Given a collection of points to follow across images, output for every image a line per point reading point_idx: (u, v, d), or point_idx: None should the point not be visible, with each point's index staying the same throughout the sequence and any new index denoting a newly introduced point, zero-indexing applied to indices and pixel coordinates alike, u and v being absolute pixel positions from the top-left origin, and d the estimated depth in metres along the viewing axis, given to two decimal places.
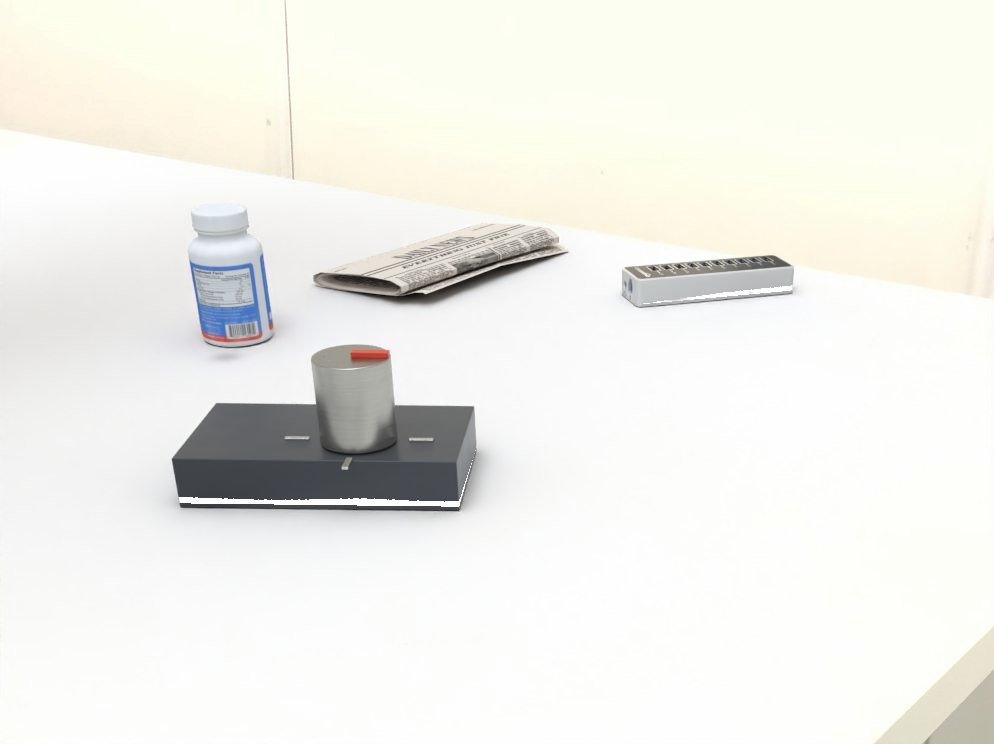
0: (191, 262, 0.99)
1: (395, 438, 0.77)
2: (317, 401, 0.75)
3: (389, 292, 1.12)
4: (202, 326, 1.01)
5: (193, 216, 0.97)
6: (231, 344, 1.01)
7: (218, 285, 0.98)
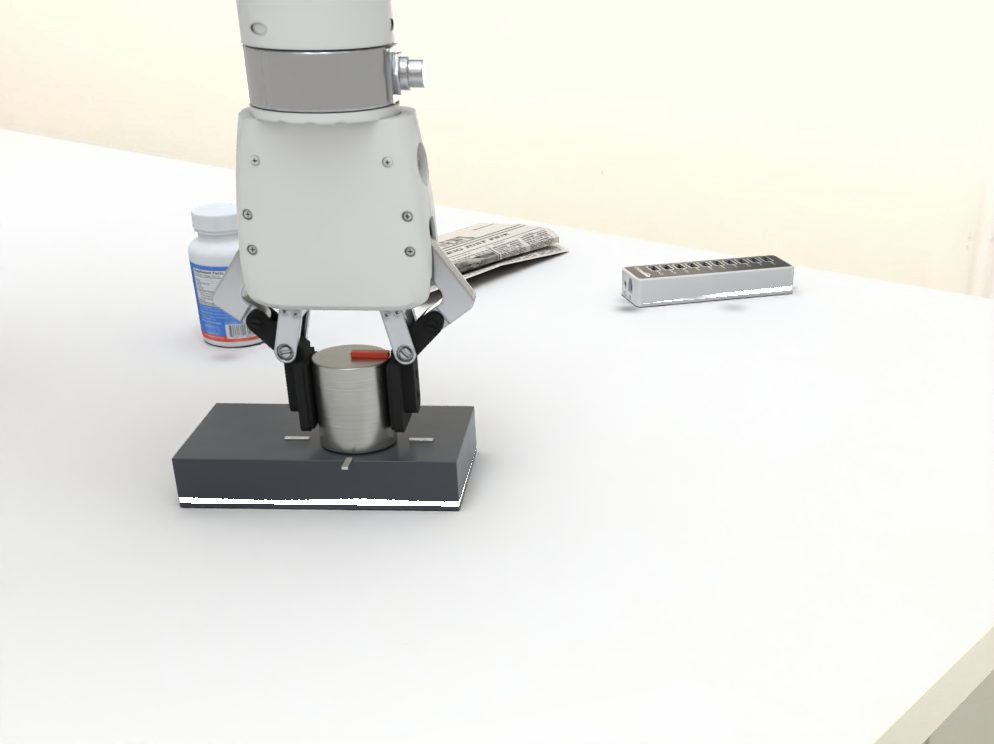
0: (191, 262, 0.99)
1: (395, 438, 0.77)
2: (317, 401, 0.75)
3: None
4: (202, 326, 1.01)
5: (193, 216, 0.97)
6: (231, 344, 1.01)
7: None
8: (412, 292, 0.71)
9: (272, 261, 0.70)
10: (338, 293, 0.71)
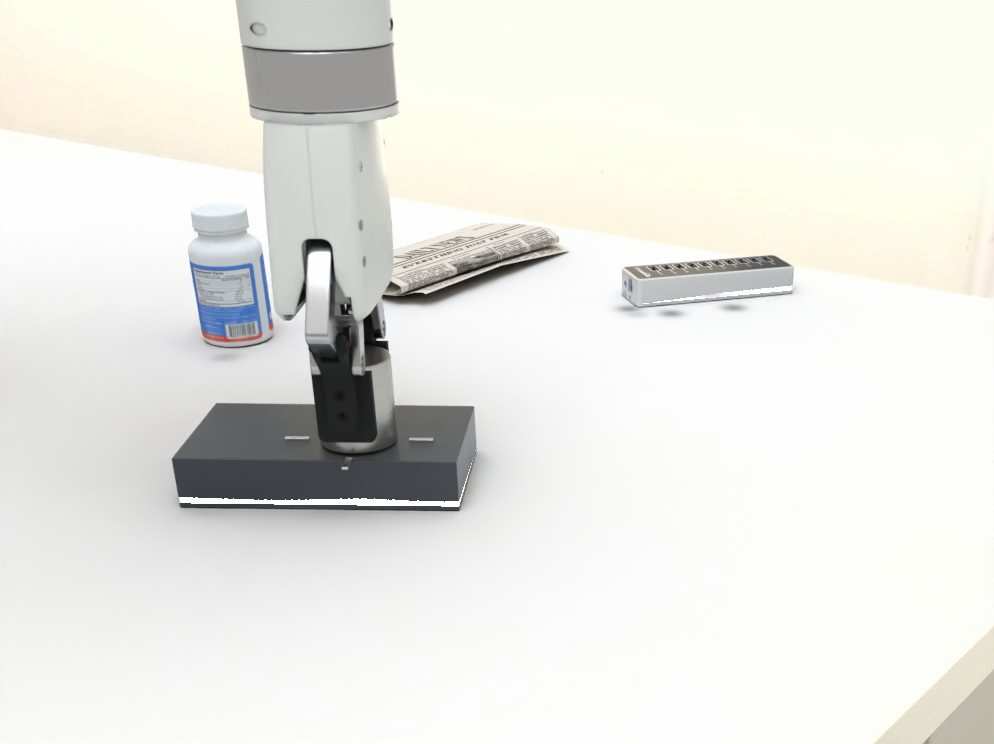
0: (191, 262, 0.99)
1: None
2: None
3: (389, 292, 1.12)
4: (202, 326, 1.01)
5: (193, 216, 0.97)
6: (231, 344, 1.01)
7: (218, 285, 0.98)
8: (392, 262, 0.76)
9: (371, 266, 0.69)
10: (383, 282, 0.73)
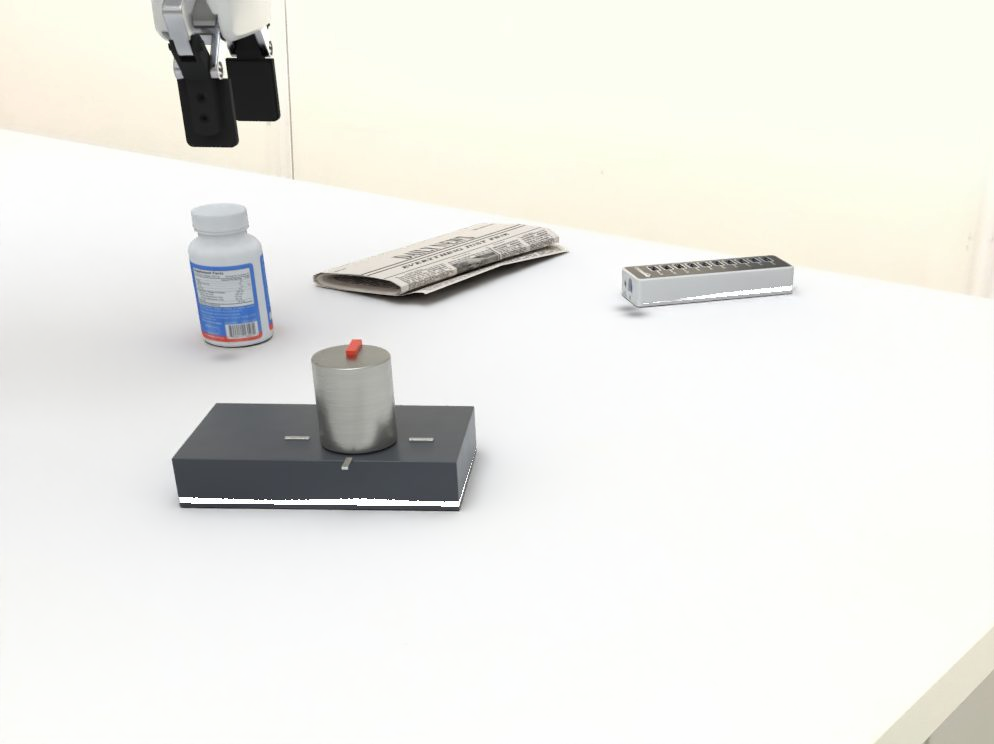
0: (191, 262, 0.99)
1: None
2: (368, 406, 0.74)
3: (389, 292, 1.12)
4: (202, 326, 1.01)
5: (193, 216, 0.97)
6: (231, 344, 1.01)
7: (218, 285, 0.98)
8: (270, 10, 0.88)
9: None
10: (254, 17, 0.85)
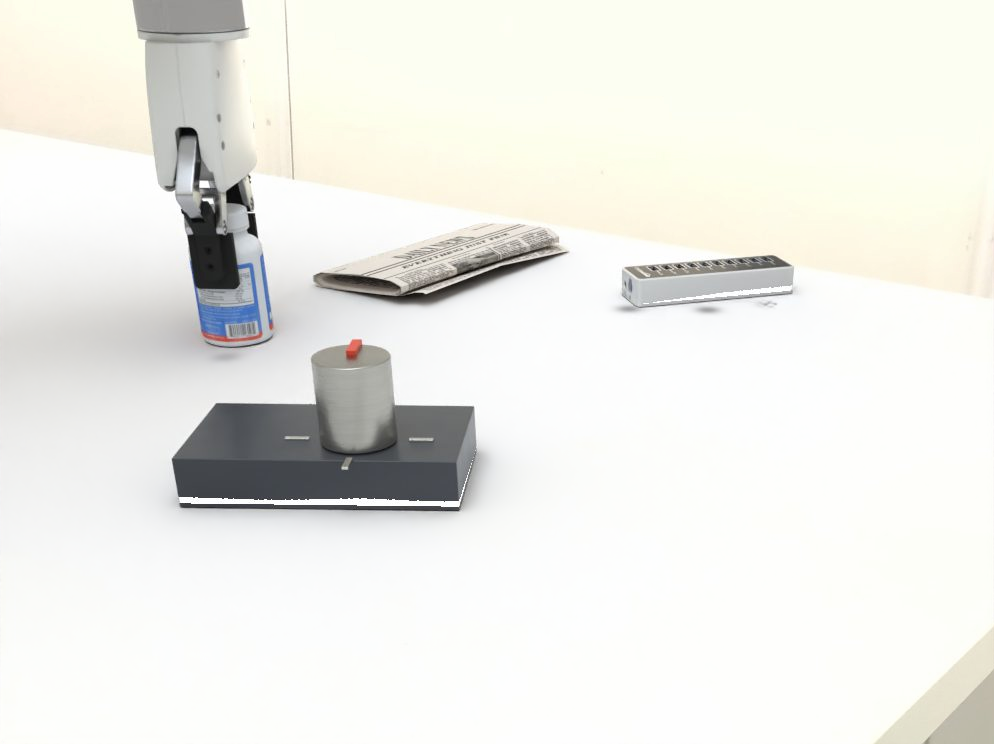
0: None
1: None
2: (368, 406, 0.74)
3: (389, 292, 1.12)
4: (202, 326, 1.01)
5: None
6: (231, 344, 1.01)
7: None
8: (255, 155, 1.00)
9: (229, 150, 0.93)
10: (243, 167, 0.97)
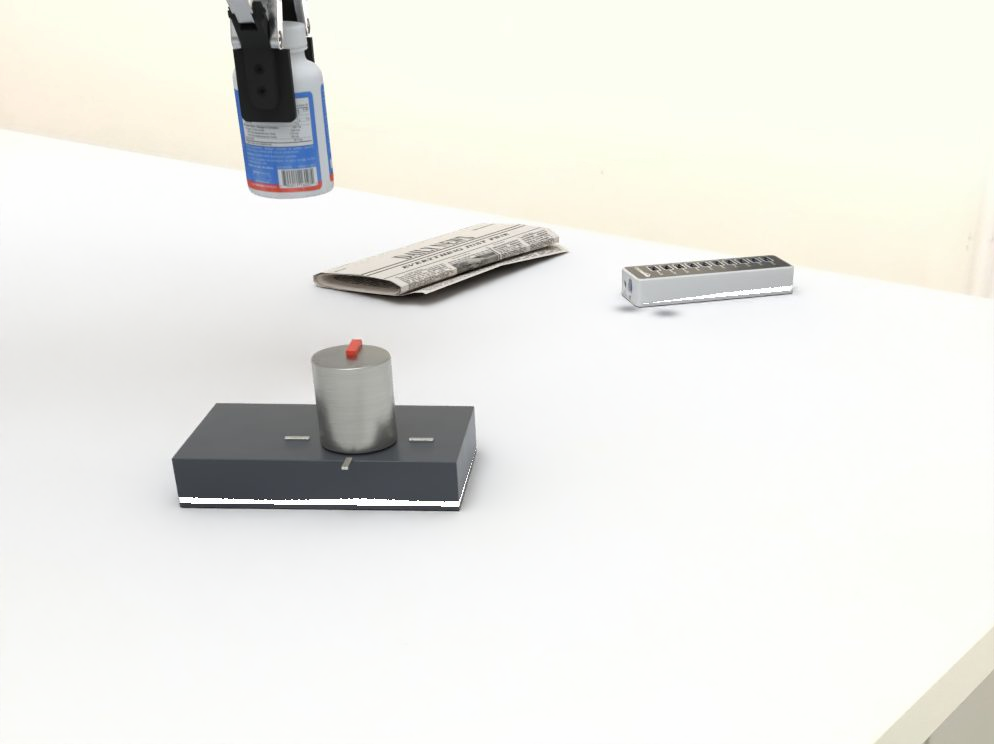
0: (237, 90, 0.80)
1: None
2: (368, 406, 0.74)
3: (389, 292, 1.12)
4: (248, 174, 0.83)
5: None
6: (284, 195, 0.82)
7: None
8: None
9: None
10: None
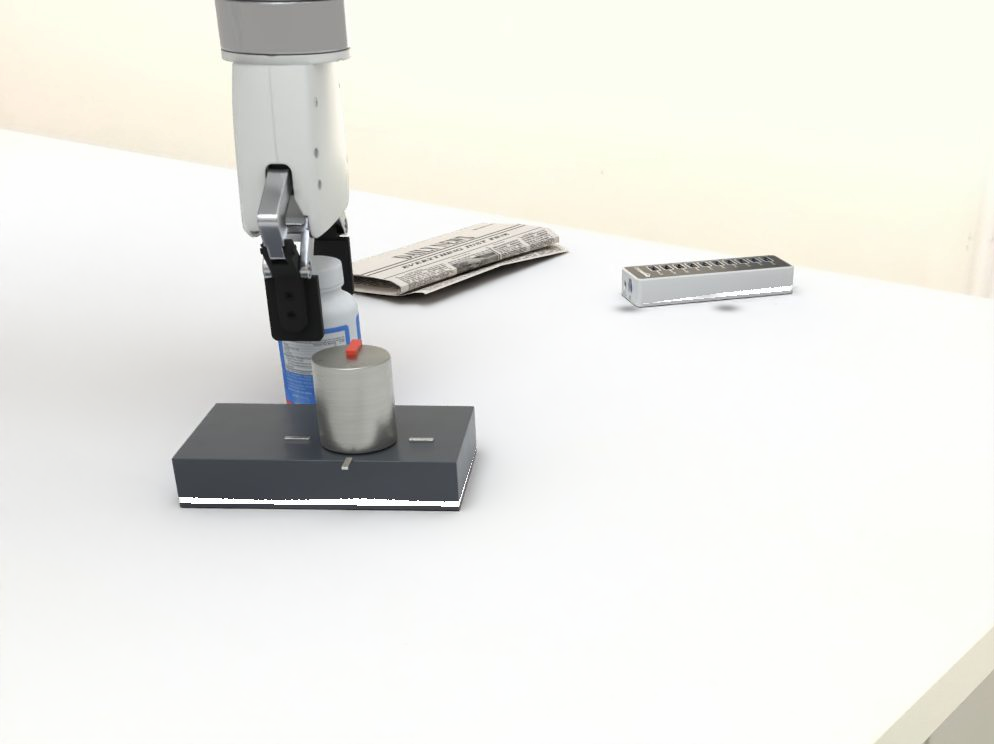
0: None
1: None
2: (368, 406, 0.74)
3: (389, 292, 1.12)
4: (288, 395, 0.88)
5: None
6: None
7: (309, 351, 0.86)
8: (348, 193, 0.87)
9: (326, 190, 0.80)
10: (338, 207, 0.84)
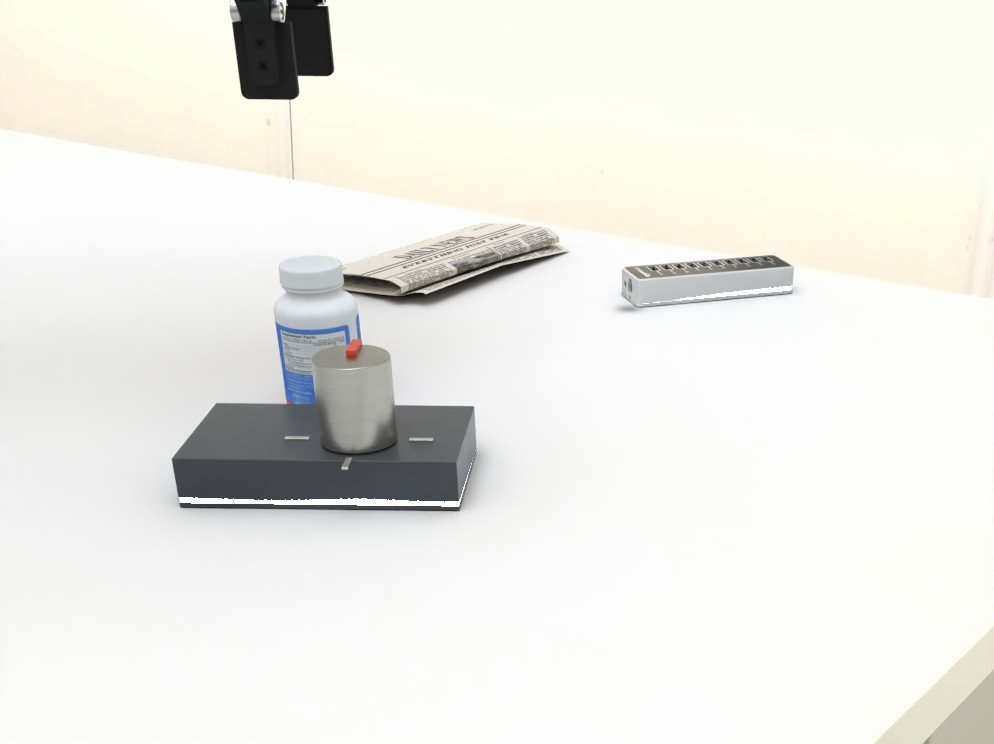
0: (278, 324, 0.86)
1: None
2: (368, 406, 0.74)
3: (389, 292, 1.12)
4: (288, 395, 0.88)
5: (282, 272, 0.84)
6: None
7: (309, 351, 0.86)
8: None
9: None
10: None
